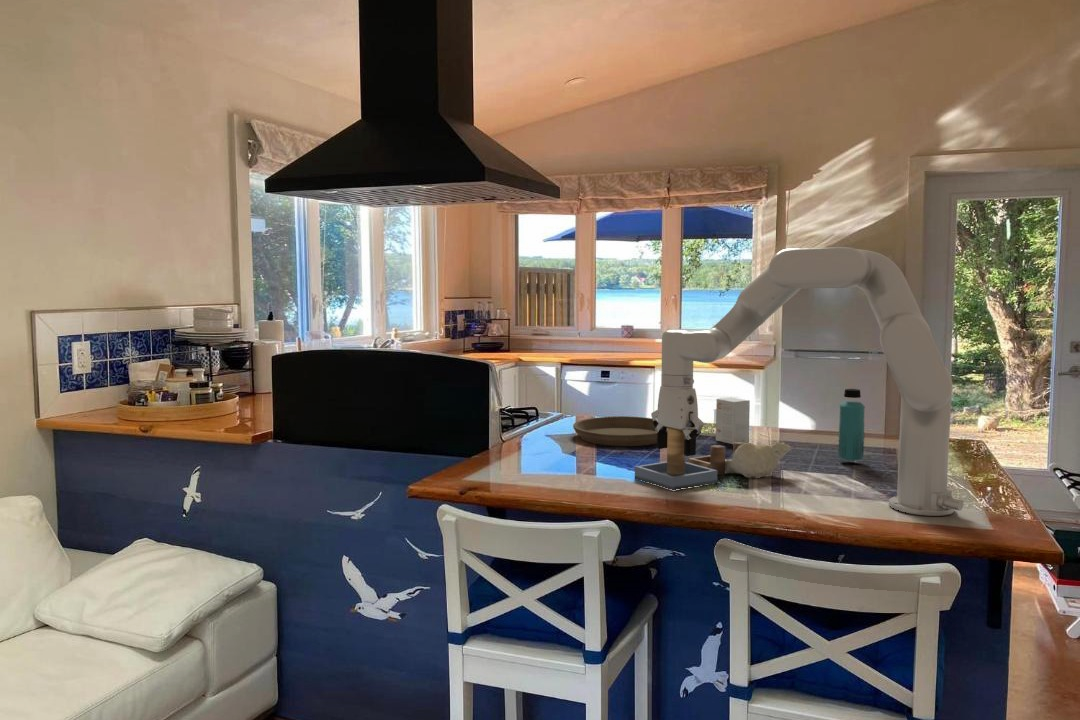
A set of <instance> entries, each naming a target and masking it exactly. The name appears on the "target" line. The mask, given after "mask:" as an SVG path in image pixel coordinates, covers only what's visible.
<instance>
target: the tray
mask: <svg viewBox="0 0 1080 720" xmlns="http://www.w3.org/2000/svg"><path fill="white" fill-rule="evenodd" d="M717 473H718V470H714V469H710V468H707V467H703V466H699V465H695V464H692V463H688V462H687V461H685V475H680V476H670V475H667V461H661V462H655V463H647V464H640V465H635V466H634V480H635V479H638V480H637V481H639V480H642V481H645V482H649V483H652V484H656V485H659V486H662V487H665V488H668V489H672V490H676V489H681V488H688V487H694V486H700V485H705V484H712V483H717V484H718V476H717ZM642 481H641V482H642ZM645 482H644V483H645ZM712 485H713V484H712Z"/></svg>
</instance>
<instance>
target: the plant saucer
mask: <svg viewBox="0 0 1080 720" xmlns="http://www.w3.org/2000/svg"><path fill="white" fill-rule="evenodd" d="M572 427H573V430H574V431H575V433H576V434H577V435H579V437H580V439H581V440H582V441H584V442H587V443H591V444H595V445H603V446H612V447H613V446H614V447H644V446H651V444H652V445H657V433H658V432H656V431H655V429H656V428H655V426H654V424H653V419H652V417H644V416H643V417H642V416H630V415H628V416H627V415H626V416H625V415H622V416H619V415H618V416H617V415H615V416H613V415H612V416H599V417H589V418H586V419H585V418H584V419H581V420H578V421H576V422H574V423H573V426H572ZM666 432H668V429H667V431H666ZM643 445H644V446H643Z"/></svg>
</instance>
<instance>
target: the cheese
mask: <svg viewBox="0 0 1080 720" xmlns="http://www.w3.org/2000/svg"><path fill="white" fill-rule="evenodd" d="M773 442H774V444H772V445H771V444H770V445H768V444H765V445H763V444H762V445H759V444H754V443H752V442H749V443H745V444H742V445H740V446H739V447H738V448H737V449H736V450H735V452H734V454H733V453H732V458H731V459H727V461H726V462H725V473H727V474H735V475H743V477H745V478H748V479H751V478H755V479H757V478H759V479H760V478H762V477H768V476H771V475H772V473H773V472H774V471H775V468H776V466H777V465H778V462H779V461H781V460H782V459H783V458H784V457H785V455H786V454H788V453H789V452H790V451H792V446H791V445H789V444H786V443H785V442H782V443H781V442H778V441H777V440H773Z"/></svg>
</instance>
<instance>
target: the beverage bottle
mask: <svg viewBox="0 0 1080 720" xmlns="http://www.w3.org/2000/svg"><path fill="white" fill-rule="evenodd" d="M843 397H844V398H849V399H850V398H852V399H859V398H860V399H861V397H862V396H861V390H860V389H858V388H846V389H845V388H844V394H843ZM865 435H866V434H865V405H864V403H862V402H861V401H859V400H858V401H857V400H856V401H855V400H844V401H842V402H841V403H840V405H839V424H838V443H837V444H838V445H837V446H838V447H837V448H838V451H837V453H838V454H837V455H838V458H839V459H844V460H848V461H849V460H850V461H860V460H861V461H862V460H863V459H864V454H865Z"/></svg>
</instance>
